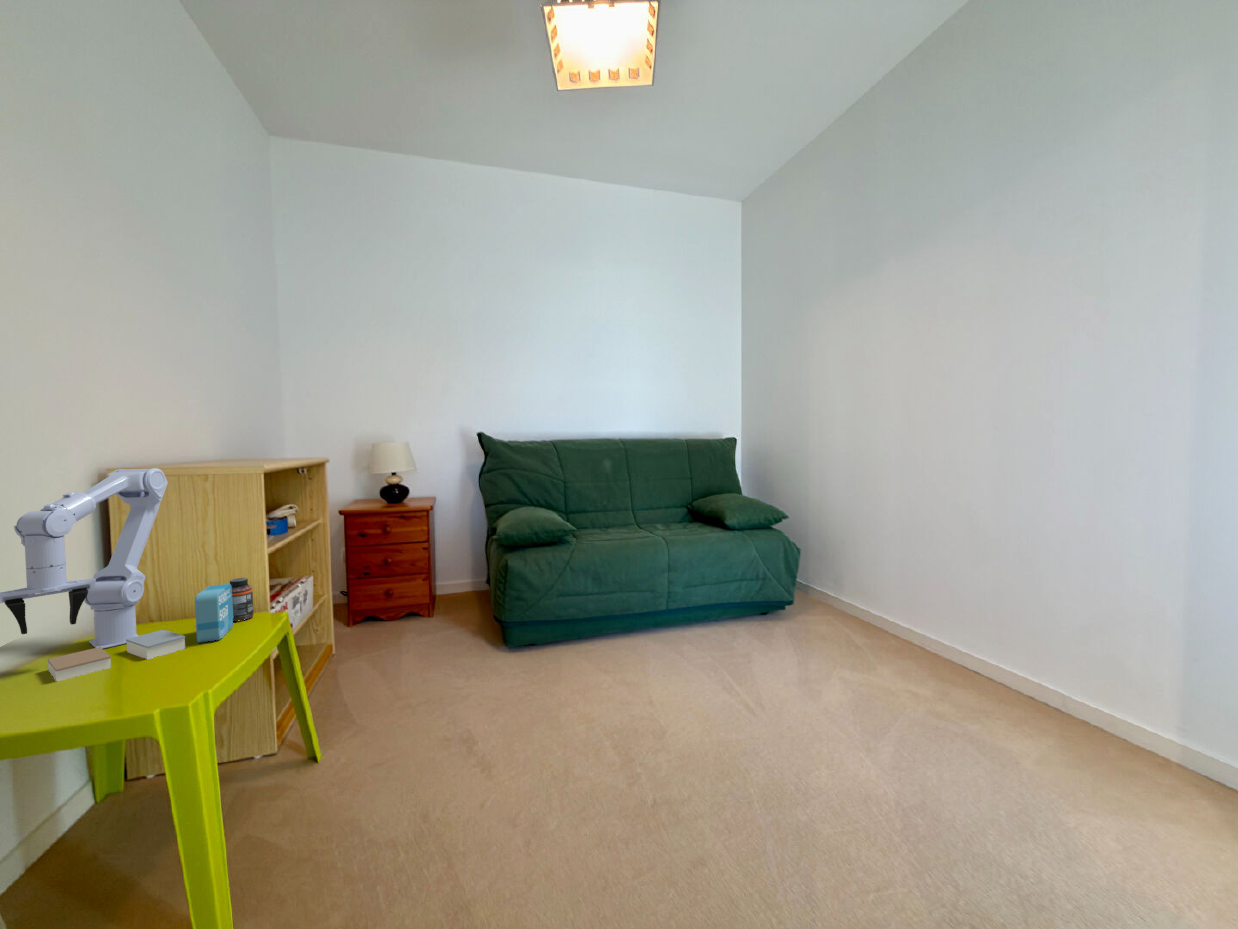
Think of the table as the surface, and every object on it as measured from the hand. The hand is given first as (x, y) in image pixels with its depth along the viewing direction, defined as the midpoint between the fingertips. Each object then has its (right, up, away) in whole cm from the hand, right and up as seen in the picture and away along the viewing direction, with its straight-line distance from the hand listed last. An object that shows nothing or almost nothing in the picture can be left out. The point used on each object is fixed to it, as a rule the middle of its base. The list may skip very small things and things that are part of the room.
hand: (49, 628), depth 110 cm
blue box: (+21, -8, +19) cm, 30 cm away
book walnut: (+7, -9, 0) cm, 12 cm away
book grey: (+14, -9, +10) cm, 19 cm away
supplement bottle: (+18, -8, +32) cm, 37 cm away
